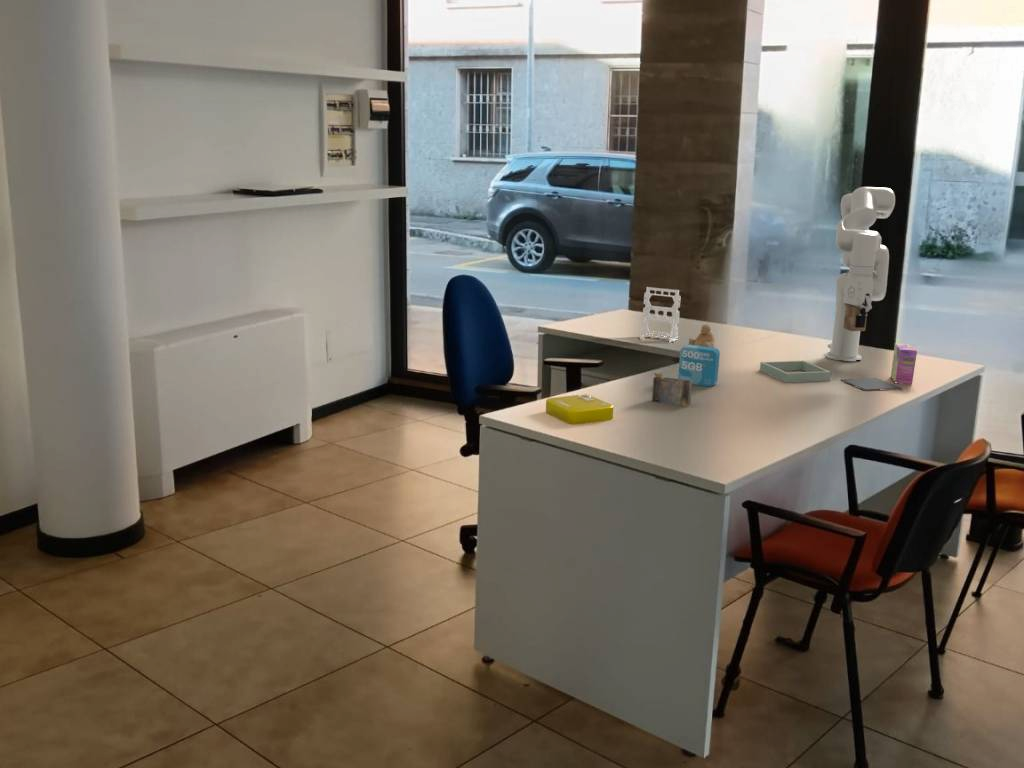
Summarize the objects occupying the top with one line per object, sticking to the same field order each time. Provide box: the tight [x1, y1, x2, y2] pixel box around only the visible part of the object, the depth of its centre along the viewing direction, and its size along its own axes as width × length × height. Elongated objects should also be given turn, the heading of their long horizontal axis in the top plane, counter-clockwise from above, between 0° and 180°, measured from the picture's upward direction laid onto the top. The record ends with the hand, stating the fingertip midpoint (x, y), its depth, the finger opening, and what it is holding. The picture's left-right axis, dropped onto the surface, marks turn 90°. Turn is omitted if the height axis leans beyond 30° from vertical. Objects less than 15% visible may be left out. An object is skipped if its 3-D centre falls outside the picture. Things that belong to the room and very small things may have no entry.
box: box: [890, 342, 918, 385], centre depth 356 cm, size 10×6×12 cm, turn 168°
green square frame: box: [759, 360, 832, 383], centre depth 359 cm, size 17×17×3 cm
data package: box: [677, 344, 721, 388], centre depth 342 cm, size 12×4×12 cm, turn 65°
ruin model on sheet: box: [651, 371, 693, 407], centre depth 317 cm, size 11×3×10 cm, turn 69°
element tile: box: [545, 393, 614, 426], centre depth 300 cm, size 15×15×5 cm
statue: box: [687, 323, 715, 348], centre depth 379 cm, size 12×14×10 cm
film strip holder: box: [640, 286, 682, 342], centre depth 410 cm, size 14×14×20 cm
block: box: [843, 304, 868, 332], centre depth 347 cm, size 5×5×8 cm
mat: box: [839, 377, 903, 391], centre depth 350 cm, size 14×14×1 cm
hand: (854, 325), depth 348 cm, fingers closed on block, 5 cm apart
